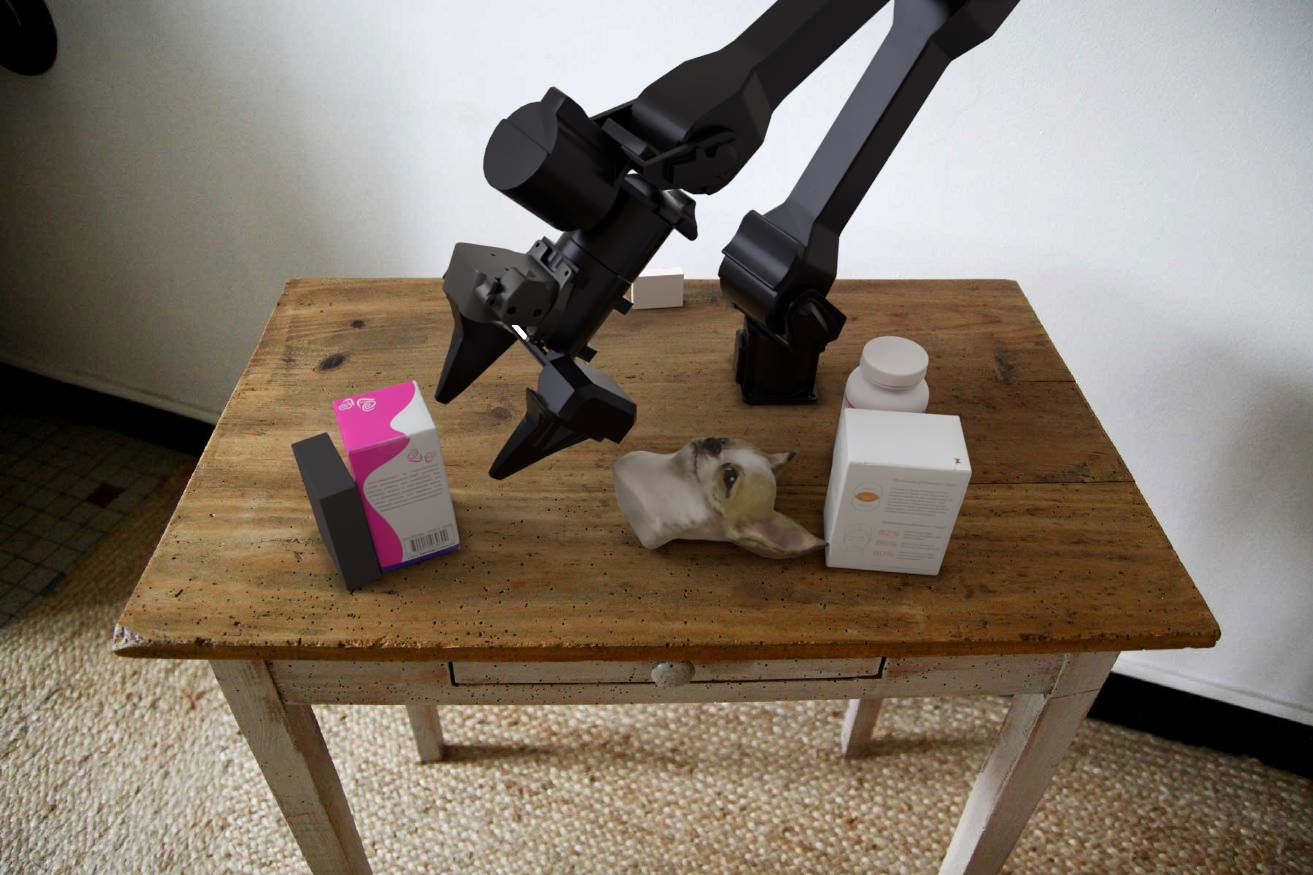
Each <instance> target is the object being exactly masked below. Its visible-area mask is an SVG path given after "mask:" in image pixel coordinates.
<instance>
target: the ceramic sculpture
mask: <svg viewBox="0 0 1313 875" xmlns="http://www.w3.org/2000/svg"><path fill="white" fill-rule="evenodd" d="M797 456H798V451H795V450H791V451H787V450H786V451H783V452H769V451H767V450H765V449H761V448H758V447H757V446H756V445H755V444H753V443H751V442H749V441H747V440H745V439H742V438H731V439H730V438H728V437H718V438H716V437H705V436H704V437H703V436H701V437H694V438H692V439H690V441H689V442H688V443H685V444H684V445H682V447H681V449H679V451H676V452H674V453H666V454H661V453H654V452H651V451H647V450H637V451H636V450H635V451H634V450H633V451H630V452H628V453H626V454H624V455H623V456H622V457H620V458H616V459H613V460H612V462H611V464H610V467H611V474H612V482H613V486H614V489H615V496H616V504H617V507H618V509H619V511H620V512H621V513H622V514H623V516H624V517H625V518H626V520H627V521H628V524H629V525H630V527H631V529H632V530H633V532H634V534H635V535H636V536H637V538H638V540H639V542H640V543H641V545H642V546H643V547H644V548H646V549H647V550H655V549H657V548H659V547H661V546H663V545H665V544H667V543H668V542H670V541H673V540H676V539H680V540H681V539H682V540H705V541H713V542H730V543H732V544H734V545H736V546H738V547H740V548H743V549H745V550H746V551H748V552H750V553H753V554H756V555H759V556H760V557H764V558H767V559H777V560H783V559H791V558H798V557H802V556H805V555H808V554H811V553H814V552H817V551H819V550H822V549H825V547H827V546H828V545H829V543H828V542H826V541H825V539H821V538H820V537H817V536H815V535H813V534H812V533H810V532H809V531H808V530H807V528H805V527H803V526H802V525H801V524H800V522H799V521H797V520H796V519H794V518H792V517H791V516H787V515H785V514H783V513H781V512H777V511H776V510H775V509H774V507H775V501H776V497H777V480H778V479H779V478H780V477H781V475H782V474H783V473H784V472H785V470H786V469H787V468H788V466H789V465H791V463H792V462H793V461H794V460H795V459H796V458H797Z"/></svg>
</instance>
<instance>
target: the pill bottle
mask: <svg viewBox="0 0 1313 875" xmlns="http://www.w3.org/2000/svg"><path fill="white" fill-rule="evenodd" d="M928 365H929V354H928V353H927V351H926V350H925V349H924V348H923V347H922V346H921V345H920V344H918V343H917V342H915V341H913V340H911V339H909V338H905V337H902V336H897V335H895V336H894V335H884V336H878V337H875V338H872V339H870V340H869V341H868V342H867V343H865V345H864V347H863V349H862V353H861V357H860V360H859V365H858V366H857V367H856V368H854V369H853V370H852V371H851V373H850V374H849V376H848V377H847V379H846V380H847V381H846V384H845V387H844V393H843V398H842V404H841V410H840V413H839V414H840V415H839V420H838V425H837V429H836V430H837V431H836V436H835V441H834V446H833V451H832V452H833V453H832V460H833V459H834V454H835V450H836V445H837V440H838V435H839V430H840V424H841V419H842V414H843V410H844V409H845V408H853V409H867V410H881V411H895V412H909V413H924V414H926V412H927V407H928V405H929V398H930V389H929V386H928V383H927V381H926V379H925V377H926V376H927V369H928Z"/></svg>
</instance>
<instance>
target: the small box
mask: <svg viewBox="0 0 1313 875" xmlns="http://www.w3.org/2000/svg"><path fill="white" fill-rule="evenodd" d="M972 473H973V471H972V467H971V462H970V458H969V453H968V449H967V443H966V441H965V436H964V431H963V427H962V424H961V419H960V416H959V415H950V414H936V413H925V414H924V413H909V412H895V411H881V410H867V409H853V408H845V409H844V410H843V414H842V419H841V424H840V430H839V435H838V440H837V445H836V450H835V454H834V459H833V458H832V466H831V470H830V476H829V481H828V485H827V490H826V496H825V500H824V501H825V503H824V506H823V535H824V537H823V538H824V541H826V542H828V543H829V545H828V546H827V547H824V556H825V566H826V567H828V568H841V569H851V570H852V569H854V570H864V571H865V570H866V571H875V572H876V571H877V572H886V573H887V572H889V573H900V574H914V575H926V576H938V575H939V572H940V569H941V566H942V563H943V560H944V557H945V554H946V552H947V549H948V546H949V542H950V539H951V536H952V533H953V530H954V527H955V524H956V521H957V519H958V515H959V513H960V510H961V507H962V504H963V501H964V499H965V495H966V492H967V489H968V486H969V483H970V480H971V477H972V475H973V474H972Z"/></svg>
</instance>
